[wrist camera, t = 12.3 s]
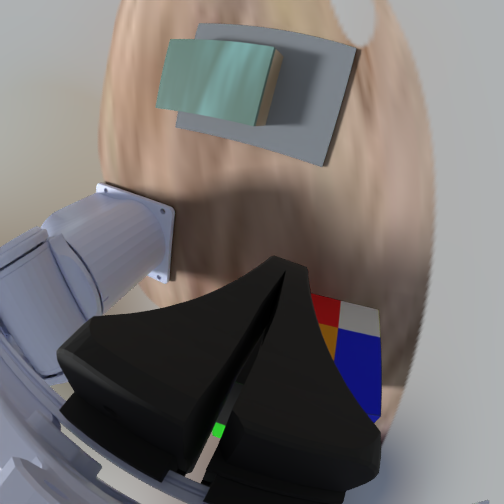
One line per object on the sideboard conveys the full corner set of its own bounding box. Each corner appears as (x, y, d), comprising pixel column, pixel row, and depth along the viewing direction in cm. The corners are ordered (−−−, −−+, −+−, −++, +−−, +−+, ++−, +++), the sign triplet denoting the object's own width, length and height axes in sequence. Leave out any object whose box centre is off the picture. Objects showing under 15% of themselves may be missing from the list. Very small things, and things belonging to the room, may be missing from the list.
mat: (177, 127, 19) (175, 127, 18) (200, 24, 14) (198, 23, 14) (322, 166, 17) (321, 167, 17) (356, 49, 12) (356, 48, 12)
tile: (265, 125, 16) (175, 107, 18) (283, 56, 14) (189, 45, 15) (253, 126, 14) (155, 107, 15) (274, 46, 12) (170, 39, 13)
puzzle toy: (378, 309, 20) (380, 416, 12) (341, 380, 25) (326, 465, 17) (261, 280, 22) (209, 373, 14) (250, 356, 27) (212, 435, 19)
